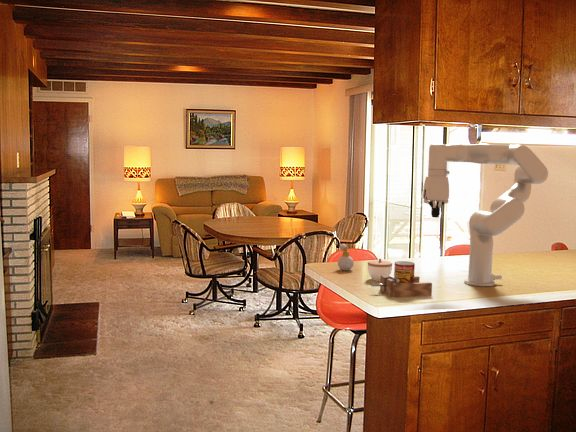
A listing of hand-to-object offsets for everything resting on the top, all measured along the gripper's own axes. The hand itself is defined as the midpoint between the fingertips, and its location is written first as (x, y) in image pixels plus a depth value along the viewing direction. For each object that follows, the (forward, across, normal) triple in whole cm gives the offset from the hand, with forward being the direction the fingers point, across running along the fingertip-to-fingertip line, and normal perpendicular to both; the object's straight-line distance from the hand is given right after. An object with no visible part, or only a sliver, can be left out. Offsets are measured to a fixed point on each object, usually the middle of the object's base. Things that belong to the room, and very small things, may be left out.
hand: (435, 217), depth 259 cm
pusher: (+29, +27, +12) cm, 41 cm away
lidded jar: (+29, +19, -13) cm, 37 cm away
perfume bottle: (+29, +28, -37) cm, 55 cm away
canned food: (+29, +18, +12) cm, 36 cm away
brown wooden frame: (+29, +17, +12) cm, 36 cm away
